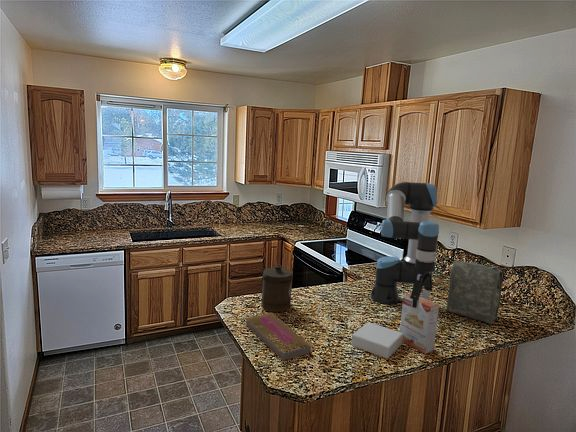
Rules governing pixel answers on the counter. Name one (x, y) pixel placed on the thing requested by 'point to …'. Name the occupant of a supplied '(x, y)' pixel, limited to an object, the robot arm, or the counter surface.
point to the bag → (475, 291)
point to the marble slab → (377, 340)
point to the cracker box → (419, 324)
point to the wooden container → (276, 289)
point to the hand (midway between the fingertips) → (419, 309)
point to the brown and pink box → (278, 335)
